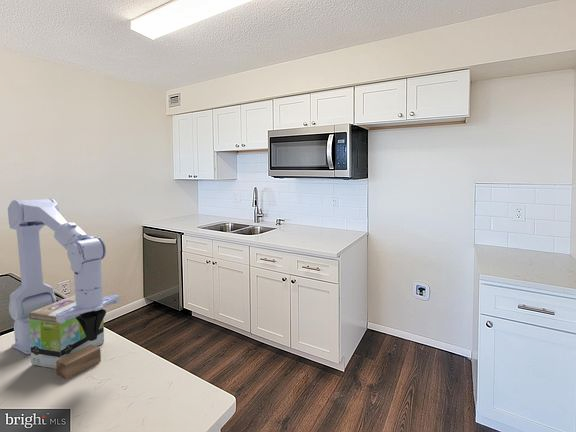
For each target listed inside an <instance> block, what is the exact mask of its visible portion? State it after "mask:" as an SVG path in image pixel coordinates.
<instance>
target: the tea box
mask: <svg viewBox="0 0 576 432" xmlns="http://www.w3.org/2000/svg"><path fill="white" fill-rule="evenodd" d="M75 305H76V296H75V294H73V295H70V296H68V297H66V298H62V299H60V300H58V301H56V302H55V303H53V304H50V305H47V306H45V307H42V308H40V309H37V310H35V311H32V312H30V313H29V321H30V345H31V354H30V361H31V362H30V363H31V365H32V366H33V365H34V366H39V367H46V368H51V369H54V370H55V369H56V370H57V367H56V361H57V360H59V359H61V358H63V357H66V356H68V355H70V354H72V353H74V352H76V351H78V350H80V349H82V348H84V347H86V346H88V345H93V346H96V347H99V346H100V345H101V346H102V344H104V343H105V331H104V330H105V329H104V328H105V327H104V319H103V320H102V322H101V325H100V327H99V331H98V335H97V339H96V340H93V341H89V340H87V338H86V335H85V332H84V330H83V328H82V326H81V325H80V323H79V322H78V320H77V319H76V318H72V319H69V320H66V322H64V323H58V322H56V314H57V313H60V312H62V311H65V310H67V309H69V308H71V307H73V306H75Z"/></svg>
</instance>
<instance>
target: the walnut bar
mask: <svg viewBox="0 0 576 432" xmlns="http://www.w3.org/2000/svg"><path fill="white" fill-rule="evenodd" d="M101 361H102V355H101V347H99V346H97V347H96V346H93V345H88V346H86V347H84V348H82V349H80V350H78V351H76V352H74V353H72V354H70V355H68V356H66V357H63V358H61V359H59V360H57V361H56V367H57V369H56V375H57V376H58V377H59V378H63V379H65V380H68V379H70V378H72V377H74V376H76V375H78V374H80V373H82V372H83V371H85V370H87V369H89V368H90V367H92V366H95V365H96V364H98V363H100V362H101Z"/></svg>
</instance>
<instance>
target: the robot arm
mask: <svg viewBox="0 0 576 432" xmlns="http://www.w3.org/2000/svg"><path fill="white" fill-rule="evenodd" d="M7 216H8V224H9V228H10V229H12V230H15V231H16V237H17V248H18V250H17V251H18V259H19V271H20V279H21V280H20V282H21V285H20V286H19V287H17V288H16V289H15V290H14V291H12V292H11V293H10V295H9V303H8V312H9V315H10V317H11V318H12V320H13V321H14V323H13V333H14V335H13V336H14V343H13V344H11V347H12V348H14V349H15V350H18V351H20V352H22V353H24V354H26V355H31V345H30V321H29V313H30V312H32V311H35V310H37V309H40V308H42V307H45V306H47V305H50V304H53V303H55V302H57V297H56V294H55V292H54V287H52V286H51V285H49V284H47V283H44V277H43V275H44V274H43V263H42V254H41V253H42V251H41V241H40V231H41V229H42V228H44V226H47V227H48V228H49V229H50V230H52V231H53V232H54V234H53V235H54V239H55V240H56V241H57V242H58V243H59V244H60V245H61V246H62V248H64V249H65V250H66V253H67V258H68V260H69V263H70V269H71V271H72V272H73V275H74V295H75V296H76V305H75V306H73V307H71V308H69V309H67V310H65V311H62V312H60V313H57V314H56V322H58V323H64V322H66V320H69V319H72V318H76V319H77V320H78V322H79V323H80V325H81V326H82V328H83V330H84V332H85V335H86V338H87V340H89V341H93V340H96V339H97V335H98V331H99V327H100V325H101V322H102V320H103V321H104V317H105V316H106V314H107V310H106V309H104V307H108V306H111V305H114V304H115V305H116V304H119V303H120V295H117V294H112V295H108V296H104V294H103V277H102V276H103V275H102V260H103V259H104V258H105V257H106V254H107V249H106V244H105V242H104V241H103V239H102V238H101V237H100V236H92V235H91V236H90V235H89V234H87V233H86V231H84V230H83V229H82V228H81V227H80V226H79V225H78V224H76V222H69V221H67V220H66V219H65V217H64V216H63V215H62V214H61V213H60V207H59V203H58V202H57V201H56V200H55V199H53V198H52V197H51V198H43V199H42V198H41V199H40V198H39V199H19V200H17V199H13V200H12V201H10V203H9V205H8V207H7Z"/></svg>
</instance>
